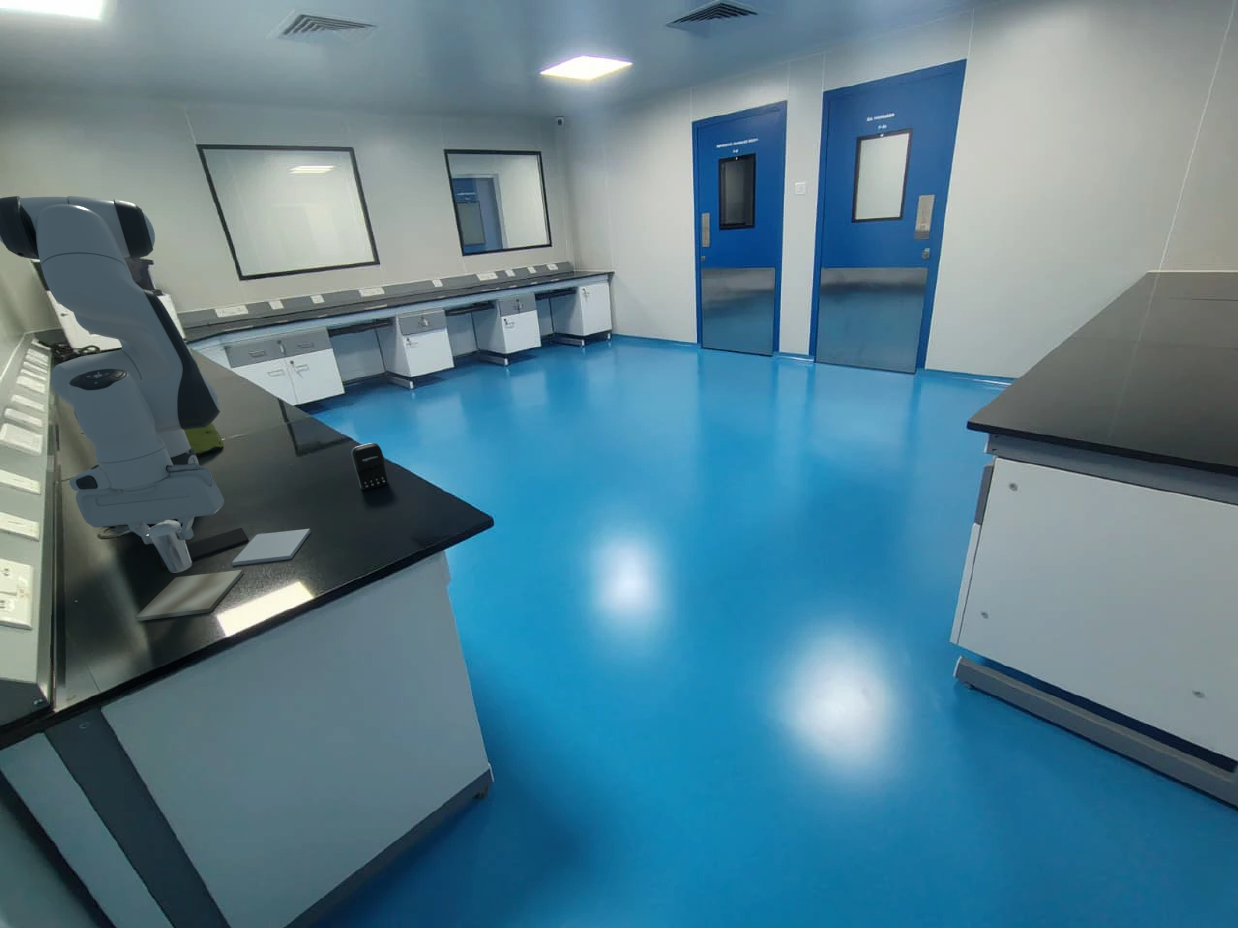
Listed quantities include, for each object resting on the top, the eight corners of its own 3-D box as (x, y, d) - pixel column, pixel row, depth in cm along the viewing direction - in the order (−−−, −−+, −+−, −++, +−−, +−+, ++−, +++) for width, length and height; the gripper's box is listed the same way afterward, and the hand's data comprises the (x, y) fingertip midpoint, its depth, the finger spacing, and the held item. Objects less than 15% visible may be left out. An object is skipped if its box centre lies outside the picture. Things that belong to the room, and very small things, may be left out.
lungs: (231, 451, 172) (204, 376, 162) (171, 467, 161) (139, 388, 151) (209, 435, 187) (183, 365, 178) (153, 448, 177) (123, 376, 167)
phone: (248, 538, 118) (162, 567, 109) (250, 544, 118) (164, 572, 109) (241, 526, 123) (158, 552, 114) (243, 531, 124) (161, 558, 115)
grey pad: (233, 565, 110) (232, 562, 109) (258, 537, 120) (257, 534, 119) (291, 558, 111) (289, 555, 111) (310, 531, 121) (309, 528, 121)
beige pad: (136, 621, 95) (134, 617, 94) (177, 580, 106) (175, 577, 105) (211, 611, 96) (209, 608, 96) (243, 573, 107) (242, 569, 107)
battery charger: (363, 493, 138) (352, 451, 134) (359, 488, 141) (348, 447, 137) (391, 485, 142) (381, 444, 138) (387, 480, 145) (377, 440, 140)
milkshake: (171, 562, 100) (150, 514, 96) (202, 559, 100) (182, 511, 96) (154, 576, 96) (131, 527, 92) (186, 573, 96) (164, 524, 92)
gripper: (215, 455, 95) (241, 524, 100) (86, 467, 92) (119, 538, 98) (195, 469, 89) (224, 542, 94) (56, 483, 86) (94, 557, 92)
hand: (170, 540), depth 96 cm, fingers closed on milkshake, 4 cm apart
